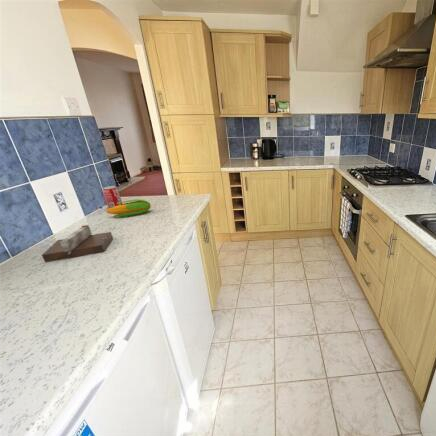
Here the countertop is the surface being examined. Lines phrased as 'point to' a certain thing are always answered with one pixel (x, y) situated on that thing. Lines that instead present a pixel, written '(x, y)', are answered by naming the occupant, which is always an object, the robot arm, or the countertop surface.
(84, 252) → the base
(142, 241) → the countertop surface
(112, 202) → the soda can
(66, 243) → the grey bar
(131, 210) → the corn
